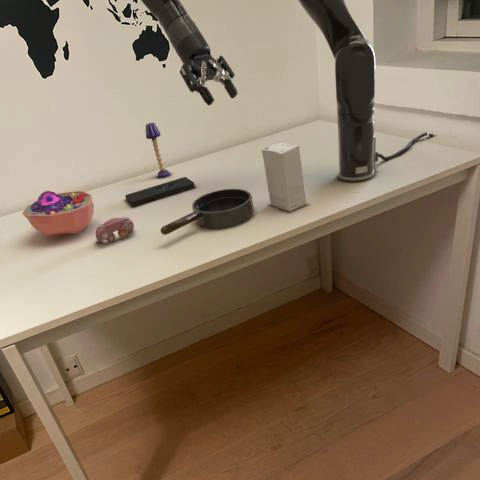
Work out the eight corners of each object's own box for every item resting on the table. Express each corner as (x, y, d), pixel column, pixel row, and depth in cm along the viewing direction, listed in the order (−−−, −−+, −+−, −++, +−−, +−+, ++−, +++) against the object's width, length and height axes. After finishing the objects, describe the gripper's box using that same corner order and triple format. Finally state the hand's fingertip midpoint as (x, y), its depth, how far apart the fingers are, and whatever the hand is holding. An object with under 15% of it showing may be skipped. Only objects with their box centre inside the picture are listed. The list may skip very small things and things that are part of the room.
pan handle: (198, 216, 118) (197, 208, 117) (203, 217, 117) (202, 210, 116) (160, 235, 113) (157, 227, 111) (164, 237, 111) (162, 229, 110)
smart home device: (194, 182, 144) (131, 202, 138) (195, 187, 145) (133, 207, 139) (185, 176, 150) (124, 194, 144) (186, 181, 151) (126, 200, 145)
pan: (227, 201, 132) (224, 185, 129) (266, 211, 122) (263, 194, 119) (184, 222, 124) (180, 205, 122) (222, 234, 114) (218, 217, 112)
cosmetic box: (306, 205, 121) (302, 145, 112) (288, 213, 119) (281, 152, 110) (286, 197, 127) (280, 140, 119) (268, 205, 125) (260, 147, 116)
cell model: (70, 250, 121) (53, 208, 115) (22, 241, 131) (4, 202, 125) (116, 221, 132) (103, 182, 126) (68, 215, 142) (54, 178, 136)
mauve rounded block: (101, 251, 121) (96, 232, 115) (95, 239, 123) (89, 220, 117) (138, 238, 124) (135, 220, 118) (131, 226, 126) (128, 207, 120)
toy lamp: (154, 178, 159) (140, 126, 149) (160, 173, 162) (147, 122, 153) (166, 178, 157) (153, 125, 148) (173, 172, 160) (160, 121, 151)
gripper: (173, 34, 110) (211, 95, 112) (215, 27, 119) (250, 84, 120) (160, 57, 117) (196, 115, 118) (201, 48, 125) (234, 103, 126)
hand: (223, 99), depth 119 cm, fingers open, 8 cm apart
